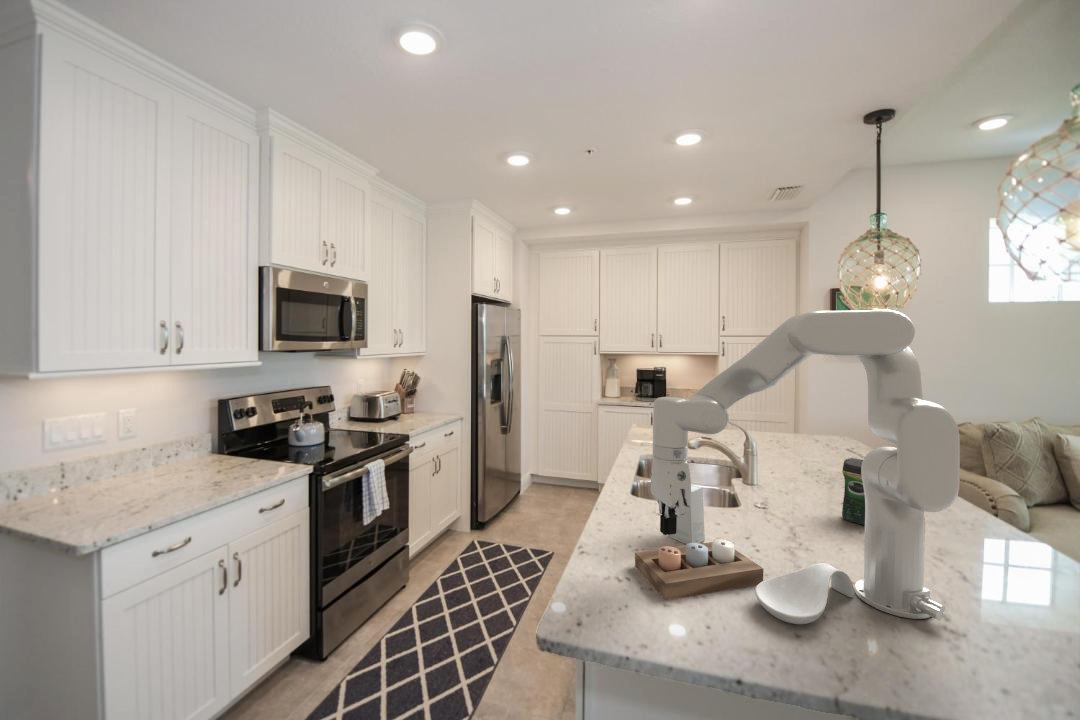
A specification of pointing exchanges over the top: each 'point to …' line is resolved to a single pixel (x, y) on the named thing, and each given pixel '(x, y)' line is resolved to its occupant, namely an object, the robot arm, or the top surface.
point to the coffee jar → (853, 492)
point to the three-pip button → (669, 559)
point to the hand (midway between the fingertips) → (668, 532)
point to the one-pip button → (722, 551)
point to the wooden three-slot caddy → (698, 574)
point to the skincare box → (691, 519)
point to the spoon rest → (802, 592)
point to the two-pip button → (696, 555)
